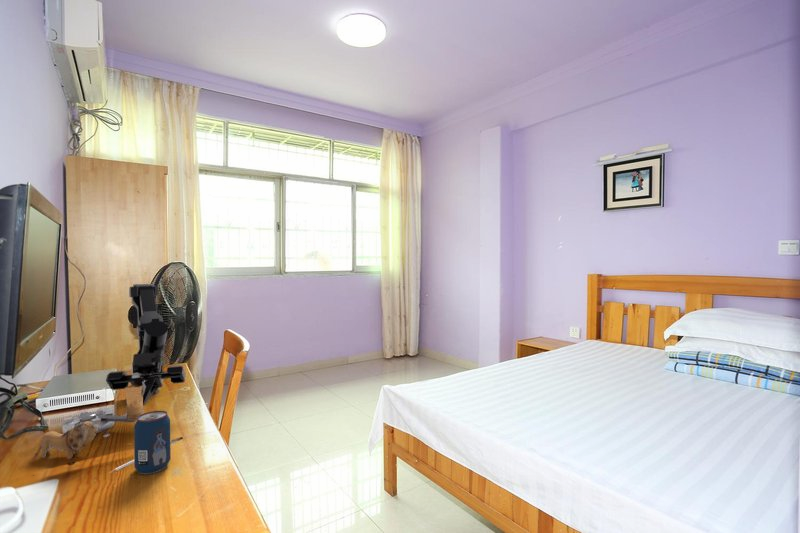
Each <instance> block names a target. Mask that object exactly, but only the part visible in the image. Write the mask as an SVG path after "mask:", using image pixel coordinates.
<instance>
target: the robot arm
mask: <svg viewBox="0 0 800 533" xmlns="http://www.w3.org/2000/svg"><path fill="white" fill-rule="evenodd" d="M128 289H129V290H128V292H129V293H128V297H129V298H131V303H132V305H133V307H134V308H136V310H137V325H136V337H138V351H137V353H135V354H133V357H132V362H131V369H130V370H131V371H130V372H131V374H127V372H126V371H125V370H118V371H110V372H109V373H108V374H107V375H106V379H105V381H106V383H107V384H108V386H109V388H110V390H114V391H116V390H125V389H127V387H128V386H130V385H129V384H131V386H132V385H143V407H145V405H146V403H148V401H149V400H150V399H151V397H152V396H154V395H155V396H156V395H158V393H159V392H160V388H162V387H163V381H164V380H165V379H166V380H167V379H170V382H171V383H172V384H174V385H175V384H181V383H183V384H184V383H185V381H186V371H185V368H184V366H183V365H173V366H167V369H166V371H163V370H164V362H163V360H164V353H165V347H166V341H167V336H168V332H170V330H171V328H170V327H169V326H168V325H167V323H166V322H164V318H163V316H162V315H161V314H160V313H158V309H157V303H156V302H157V301H156V299H157V297H158V296H159V285H154V283H138V284H137V283H135V284H133V286H130V287H129V288H128Z"/></svg>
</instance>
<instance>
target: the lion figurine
mask: <svg viewBox="0 0 800 533" xmlns="http://www.w3.org/2000/svg"><path fill="white" fill-rule="evenodd" d="M97 431H98V427H95V426H94V424H92V423H91V421H86V422H83V423H81V424H79V425H78V426H76V427H74V428H72V429H70V430H68V431H67V432H66V433H65V434H63V433H59V432H57V431H54V430H53V431H48V432H45V433H44V434H42V436H41V440H40V443H39V446H38V449H37V451H36V453H35V454H34V456H38V455H39V454H40V452H41V458H42V459H44V458H46V457H47V453H48V452H49V451H50V450H51V449H54V450H56V451H65V452H66V453H65V454H66V459H67V460H70V459H72V458H73V455H77V454H79V453H80V450H83V449H84V448H85V447H86V446H87V445H88V444H89V443H91V442H92V441H93V440H94V438H95V437H96V435H97V433H96V432H97ZM75 463H76V462H75V461H73V462H68V463H67V466H70V467H71V466H73V465H75Z"/></svg>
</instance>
